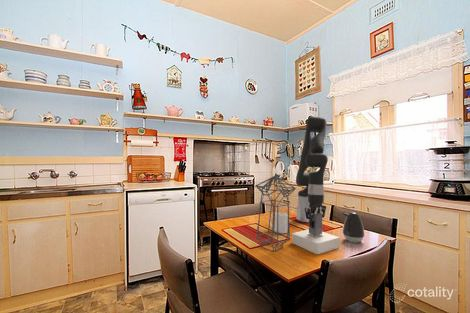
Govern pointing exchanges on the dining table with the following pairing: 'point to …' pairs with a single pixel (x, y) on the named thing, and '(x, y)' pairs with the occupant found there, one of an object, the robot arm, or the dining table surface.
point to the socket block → (315, 241)
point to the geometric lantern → (274, 209)
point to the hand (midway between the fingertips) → (315, 226)
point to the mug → (280, 222)
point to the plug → (316, 225)
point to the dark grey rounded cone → (353, 228)
